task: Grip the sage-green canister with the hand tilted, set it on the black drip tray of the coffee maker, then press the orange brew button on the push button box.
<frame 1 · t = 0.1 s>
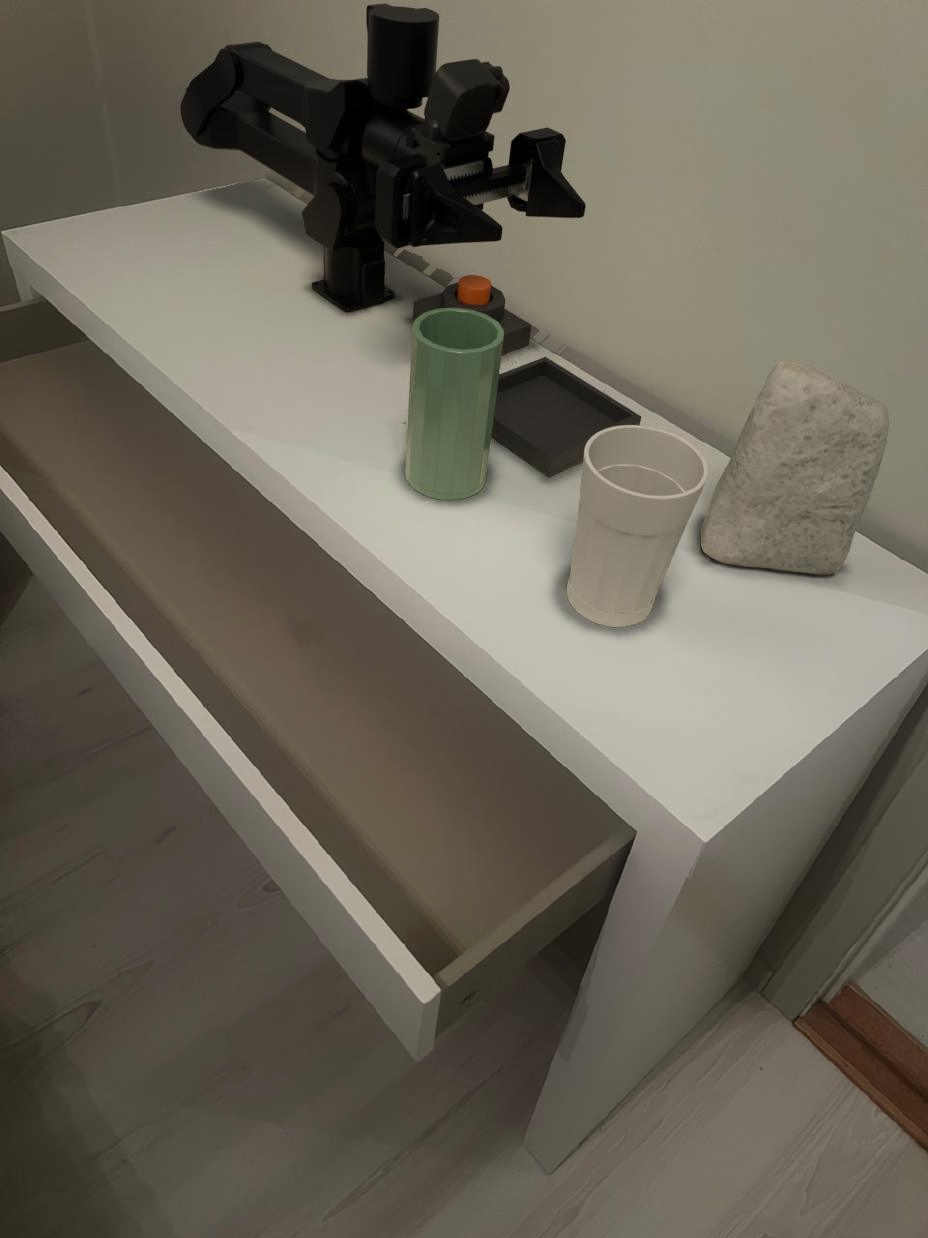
hand: (543, 222, 73), 17 cm above the table, tool horizontal, fingers open, 9 cm apart
decorative stone: (766, 554, 73), on the table
brew button: (474, 290, 91), point 4 cm above the table, slide at 0.1 cm
drip tray: (545, 422, 83), on the table
cup: (609, 598, 68), on the table
push button box: (470, 333, 94), on the table
canister: (445, 475, 76), on the table
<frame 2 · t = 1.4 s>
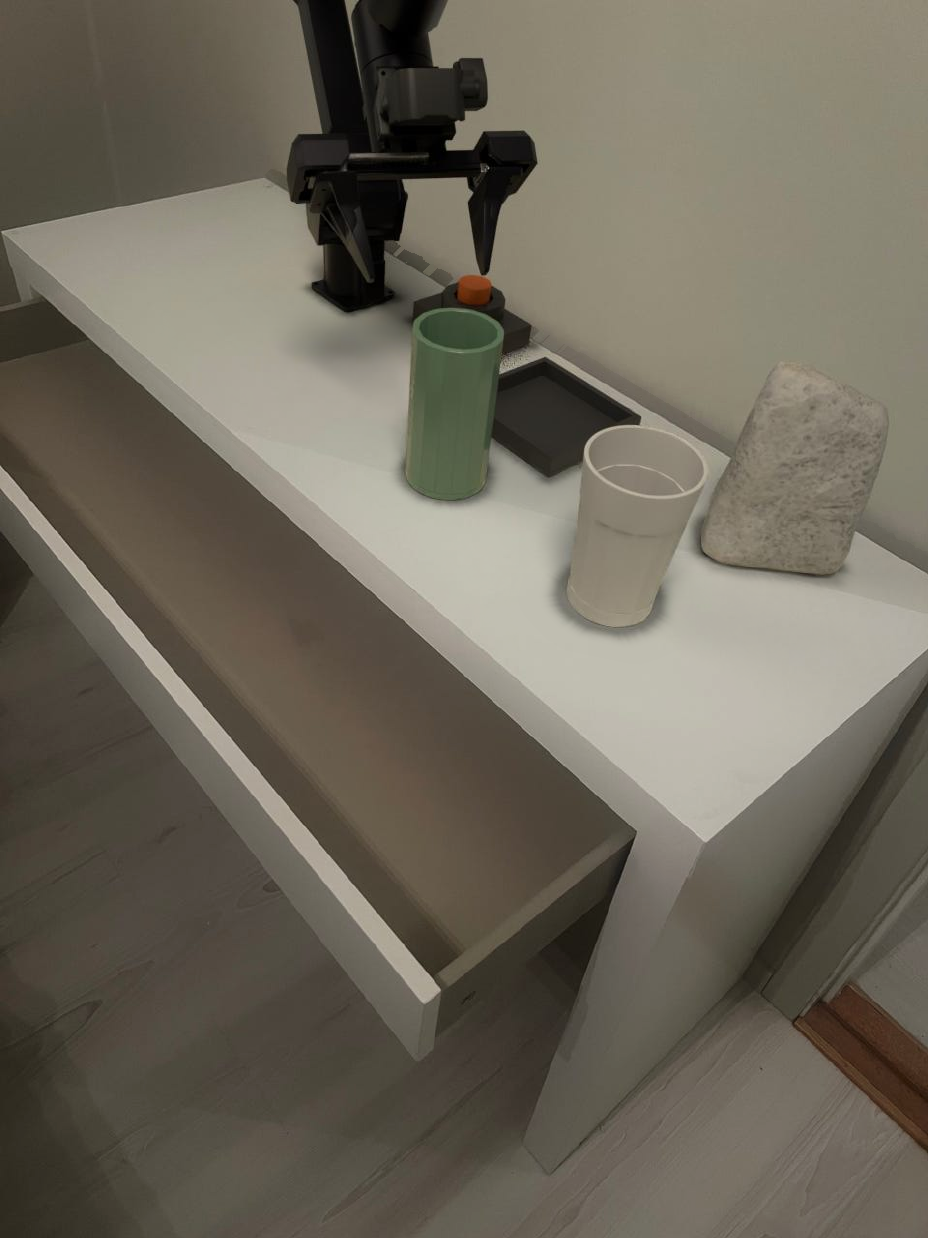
hand: (429, 277, 72), 13 cm above the table, tool tilted 45°, fingers open, 9 cm apart
nothing on the table moved.
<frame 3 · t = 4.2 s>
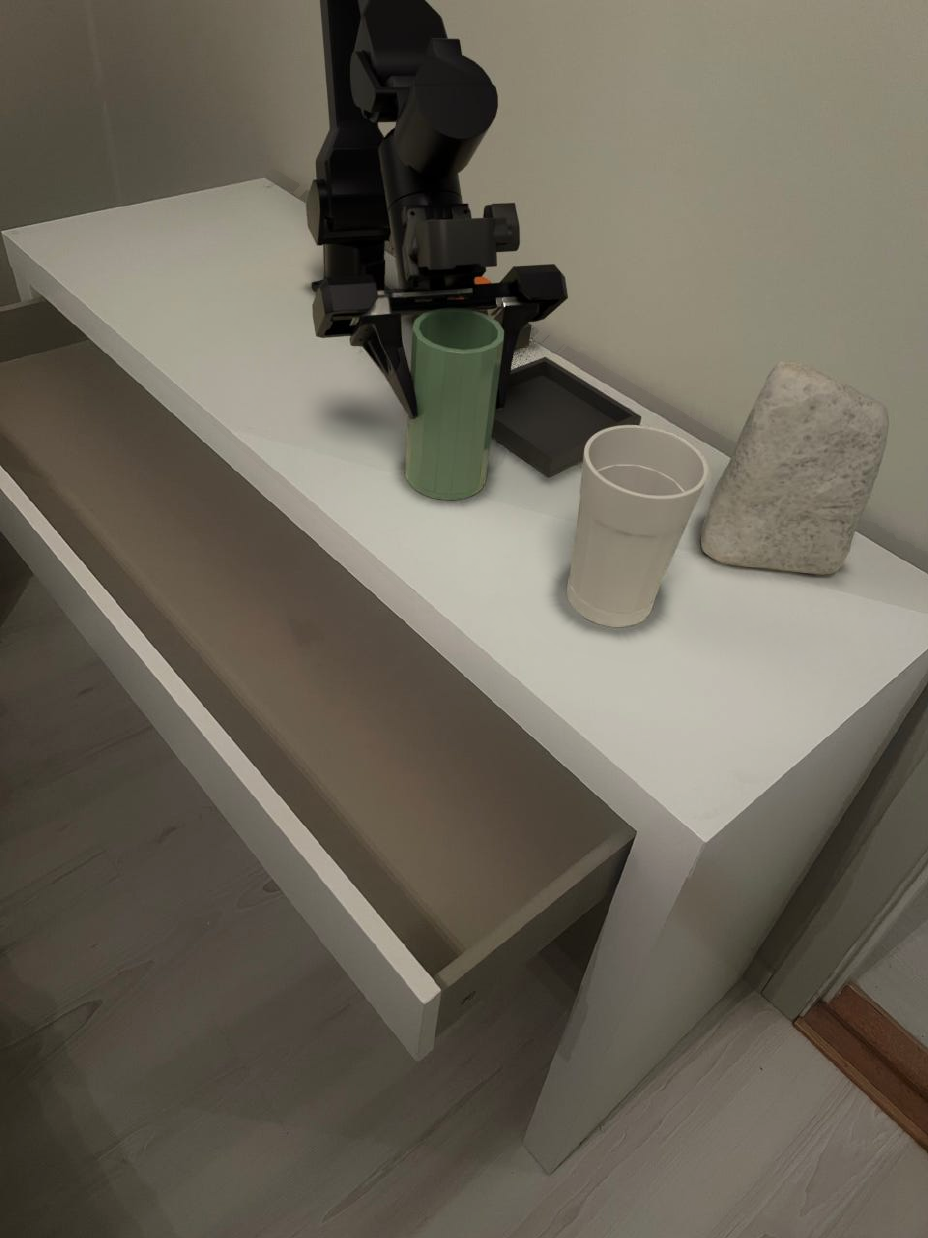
hand: (457, 413, 71), 7 cm above the table, tool tilted 45°, fingers closed on canister, 6 cm apart
canister: (445, 475, 76), on the table, touching gripper
everything else where it was.
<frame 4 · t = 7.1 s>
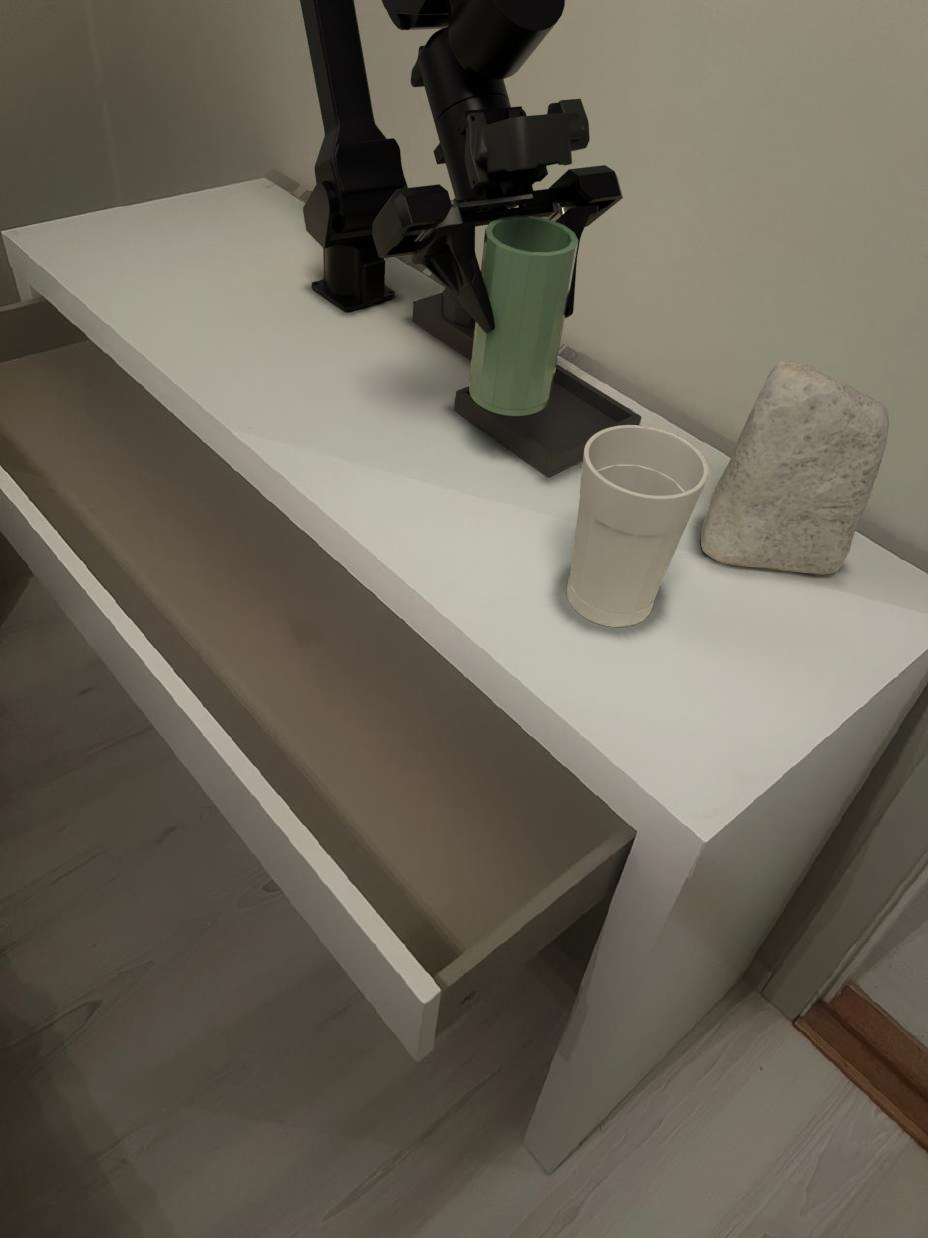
hand: (529, 323, 70), 12 cm above the table, tool tilted 45°, fingers closed on canister, 6 cm apart
canister: (509, 393, 76), point 6 cm above the table, touching gripper
everything else where it was.
when the fingers open (7 cm above the table, at t = 10.2 s): canister stays where it is, resting on drip tray.
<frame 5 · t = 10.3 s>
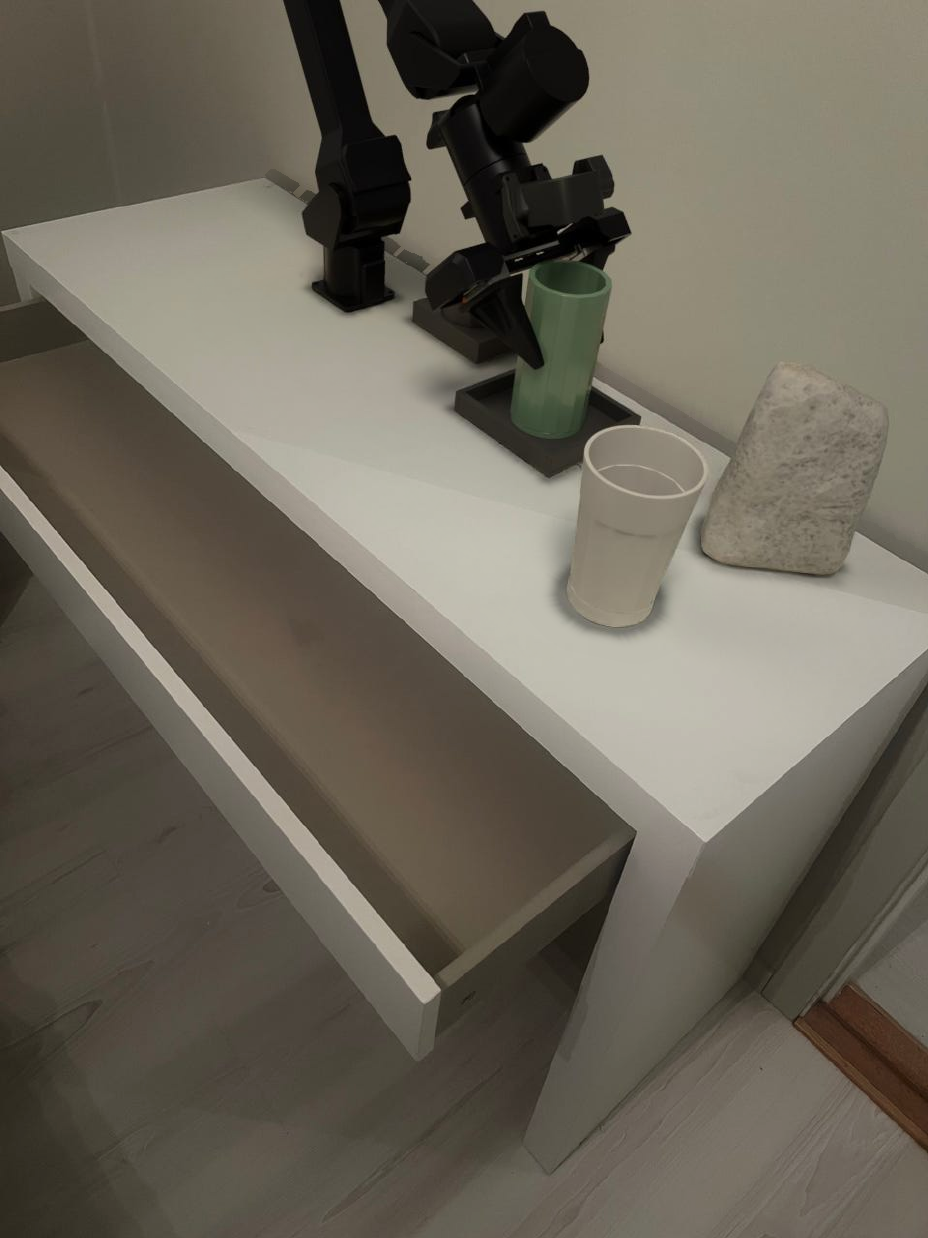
hand: (570, 356, 77), 7 cm above the table, tool tilted 45°, fingers open, 7 cm apart
canister: (546, 418, 83), resting on drip tray
everything else where it was.
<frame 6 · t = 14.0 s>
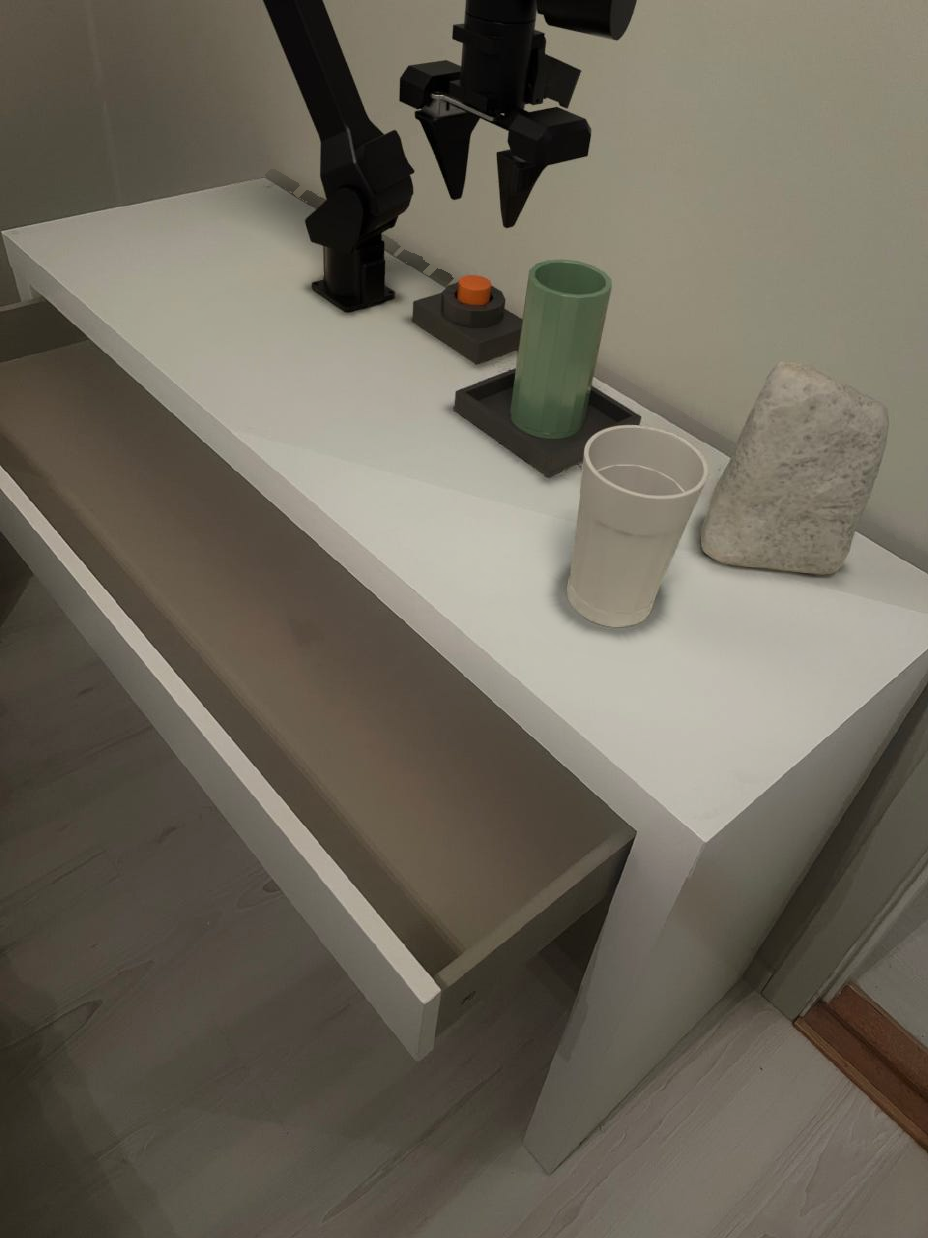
hand: (481, 212, 85), 12 cm above the table, tool pointing down, fingers open, 7 cm apart
nothing on the table moved.
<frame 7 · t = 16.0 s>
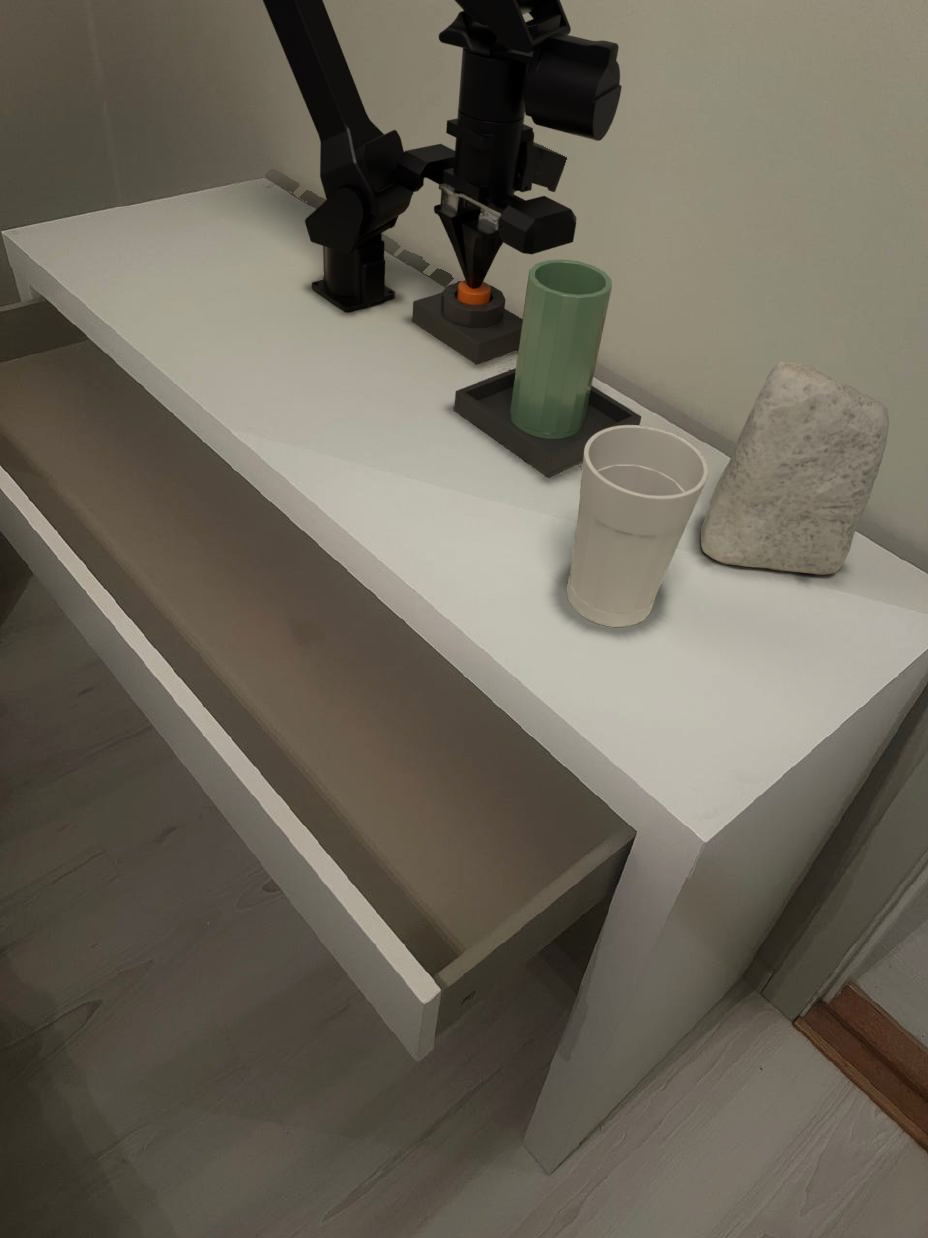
hand: (474, 286, 90), 5 cm above the table, tool pointing down, fingers closed, pressing on brew button
brew button: (473, 295, 91), point 4 cm above the table, slide at -0.3 cm, touching gripper
everything else where it was.
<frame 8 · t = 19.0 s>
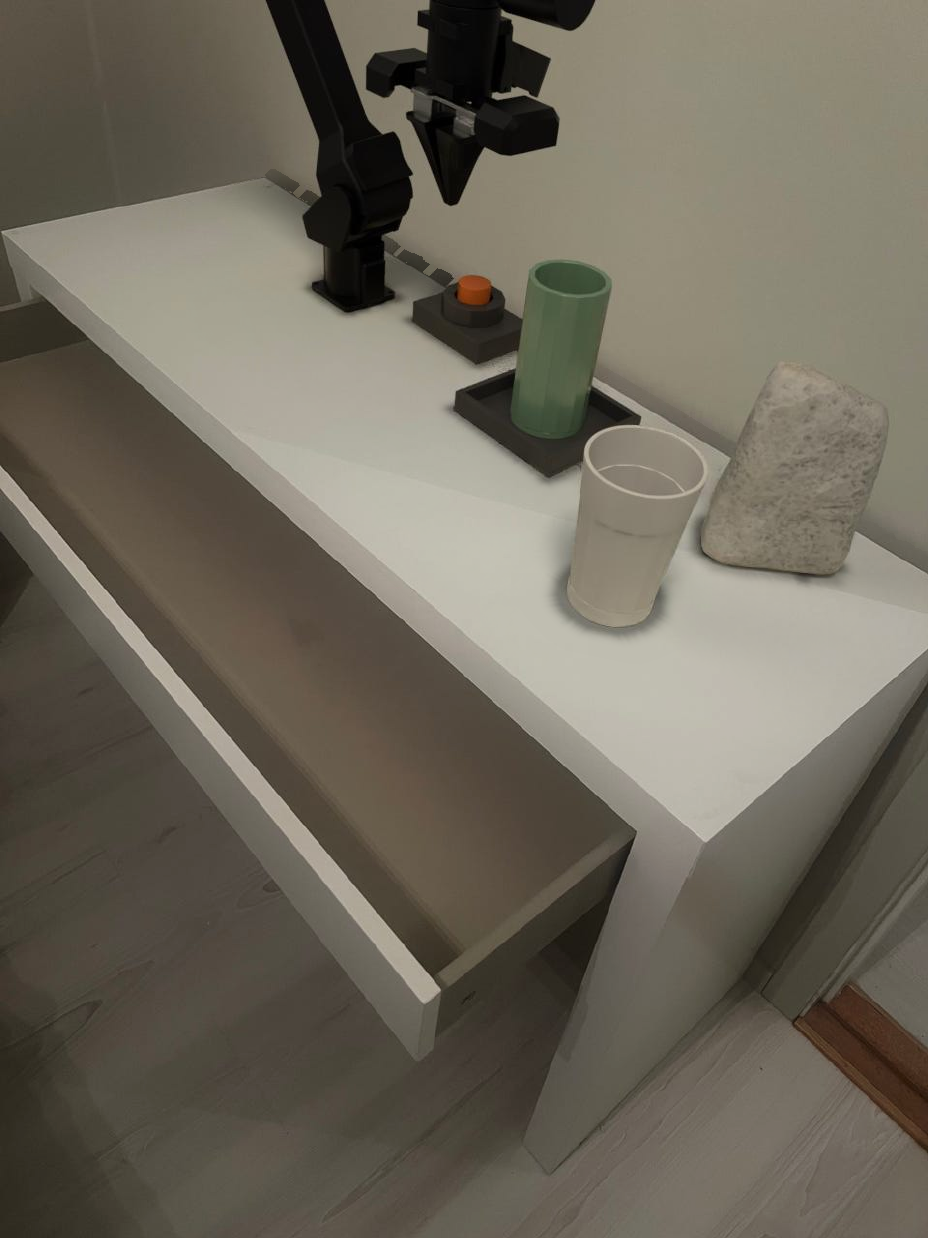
hand: (451, 203, 84), 13 cm above the table, tool pointing down, fingers closed
brew button: (474, 290, 91), point 4 cm above the table, slide at 0.1 cm
everything else where it was.
at the end: canister inside the target area in the drip tray (0.0 cm from its centre), point 0.5 cm above the drip tray's base; canister tilted 0°; brew button pushed in 1.0 cm at the most during the clip, back to where it started at the end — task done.
